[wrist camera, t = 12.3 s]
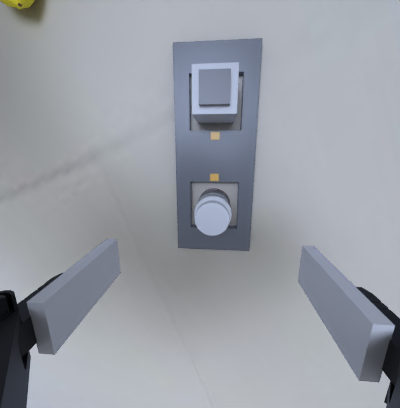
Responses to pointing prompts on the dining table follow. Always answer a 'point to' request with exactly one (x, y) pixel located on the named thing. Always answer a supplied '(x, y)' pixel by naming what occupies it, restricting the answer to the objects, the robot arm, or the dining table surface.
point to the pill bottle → (213, 212)
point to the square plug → (215, 92)
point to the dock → (216, 141)
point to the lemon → (18, 3)
